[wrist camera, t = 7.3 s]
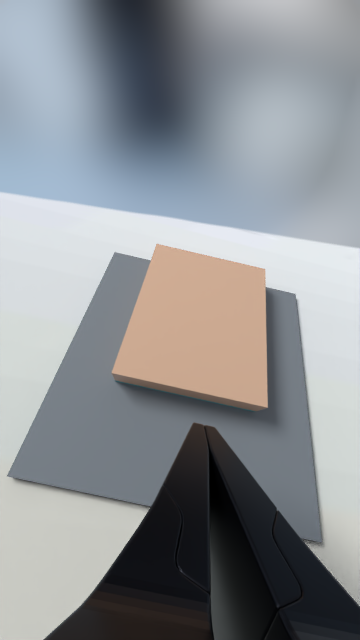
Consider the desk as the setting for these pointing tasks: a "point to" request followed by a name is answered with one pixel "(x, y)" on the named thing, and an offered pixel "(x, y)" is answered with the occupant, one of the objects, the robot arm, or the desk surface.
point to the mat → (167, 414)
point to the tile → (198, 331)
